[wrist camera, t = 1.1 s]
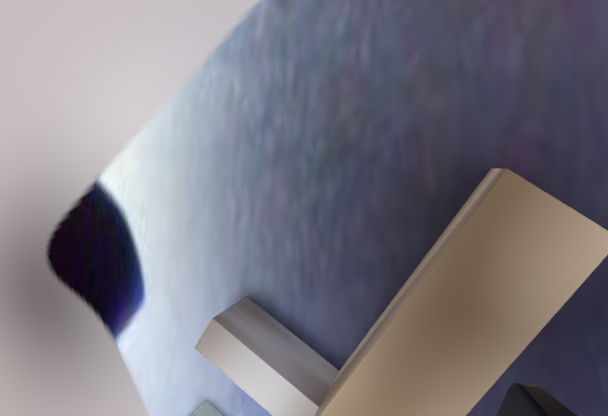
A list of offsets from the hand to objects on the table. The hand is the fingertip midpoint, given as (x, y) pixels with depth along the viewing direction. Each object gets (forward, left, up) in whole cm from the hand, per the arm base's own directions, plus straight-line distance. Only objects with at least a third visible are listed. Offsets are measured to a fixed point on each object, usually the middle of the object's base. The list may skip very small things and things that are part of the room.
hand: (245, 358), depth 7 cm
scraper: (-4, +1, -11) cm, 11 cm away
